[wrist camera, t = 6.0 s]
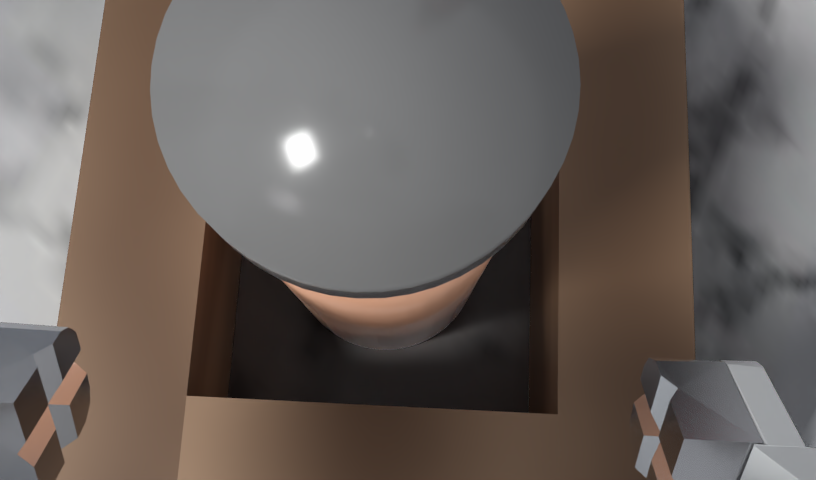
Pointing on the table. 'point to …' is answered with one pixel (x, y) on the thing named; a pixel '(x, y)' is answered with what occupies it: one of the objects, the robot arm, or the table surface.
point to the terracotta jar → (367, 143)
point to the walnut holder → (373, 424)
